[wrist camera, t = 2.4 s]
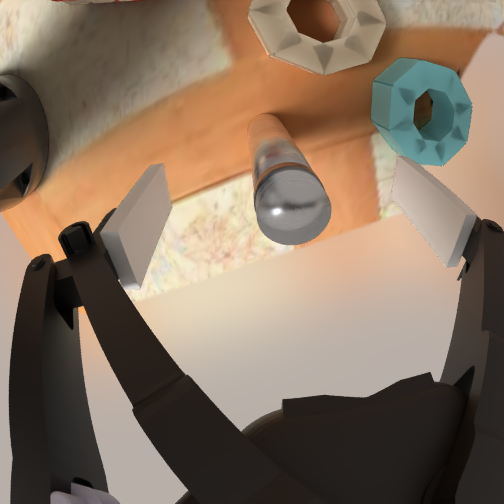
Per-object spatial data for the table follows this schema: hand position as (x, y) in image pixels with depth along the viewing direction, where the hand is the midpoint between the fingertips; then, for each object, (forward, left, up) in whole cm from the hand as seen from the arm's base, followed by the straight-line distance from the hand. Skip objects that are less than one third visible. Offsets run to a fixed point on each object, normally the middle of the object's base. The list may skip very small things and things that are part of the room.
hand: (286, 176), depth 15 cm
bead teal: (+14, +3, -10) cm, 17 cm away
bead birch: (+4, +10, -10) cm, 15 cm away
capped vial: (0, 0, -10) cm, 10 cm away
